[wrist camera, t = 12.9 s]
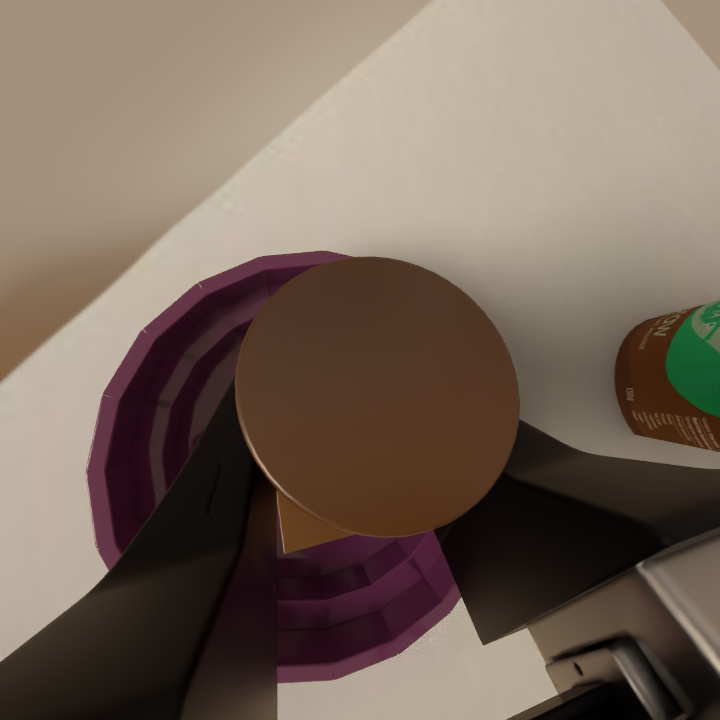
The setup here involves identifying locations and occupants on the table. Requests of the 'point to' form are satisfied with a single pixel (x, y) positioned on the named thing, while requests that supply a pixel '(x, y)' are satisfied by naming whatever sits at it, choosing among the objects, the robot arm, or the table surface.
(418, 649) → the table surface
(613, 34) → the table surface
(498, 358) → the brown post on base
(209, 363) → the bowl
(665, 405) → the food container
